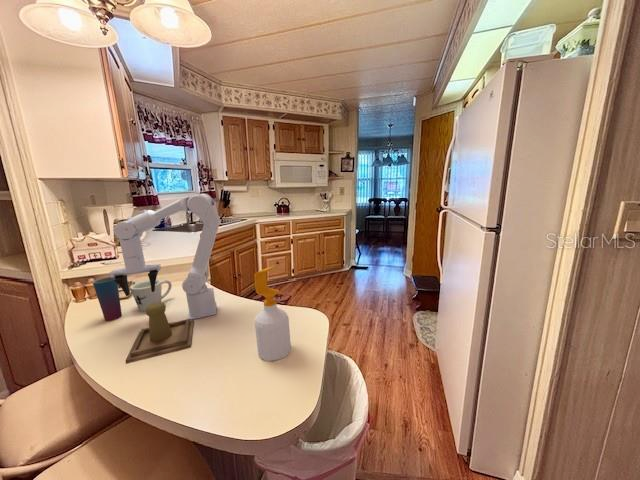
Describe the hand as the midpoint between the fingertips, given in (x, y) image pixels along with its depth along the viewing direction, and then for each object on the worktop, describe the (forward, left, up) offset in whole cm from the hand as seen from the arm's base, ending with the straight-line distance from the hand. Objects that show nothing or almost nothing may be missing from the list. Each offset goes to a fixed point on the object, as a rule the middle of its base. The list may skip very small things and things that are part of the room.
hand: (141, 292), depth 93 cm
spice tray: (-8, +18, -10) cm, 22 cm away
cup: (+12, -8, -11) cm, 18 cm away
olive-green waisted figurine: (-7, +17, -10) cm, 21 cm away
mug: (-1, -13, -11) cm, 17 cm away
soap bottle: (-38, +39, -11) cm, 55 cm away
